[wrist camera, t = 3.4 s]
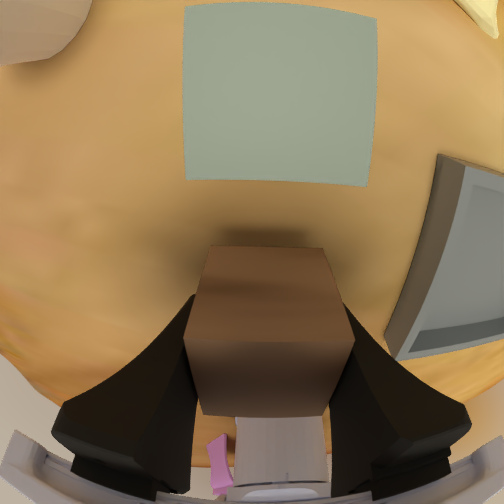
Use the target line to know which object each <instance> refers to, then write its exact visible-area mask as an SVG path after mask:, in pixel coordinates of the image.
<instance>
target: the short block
mask: <svg viewBox="0 0 504 504" xmlns="http://www.w3.org/2000/svg"><path fill="white" fill-rule="evenodd" d="M183 339H184V343H185V347H186V352H187V356H188V360H189V364H190V368H191V372H192V376H193V380H194V384H195V387H196V391H197V395H198V398H199V402H200V405H201V409H202V412H203V415H213V416H227V417H247V418H293V417H313V416H322V415H323V413H324V411H325V409H326V407H327V405H328V403H329V400H330V398H331V396H332V394H333V392H334V390H335V388H336V385H337V383H338V381H339V379H340V376H341V374H342V372H343V369H344V367H345V364H346V362H347V360H348V357H349V355H350V352H351V350H352V347H353V344H354V342H355V338H354V335H353V331H352V328H351V325H350V322H349V319H348V316H347V314H346V311H345V308H344V305H343V302H342V299H341V296H340V294H339V291H338V288H337V285H336V283H335V280H334V277H333V274H332V272H331V269H330V266H329V264H328V261H327V259H326V256H325V253H324V251H323V248H295V247H256V246H214V245H211V247H210V250H209V253H208V257H207V260H206V263H205V266H204V269H203V273H202V276H201V279H200V282H199V286H198V289H197V292H196V295H195V299H194V302H193V306H192V309H191V312H190V316H189V319H188V323H187V326H186V330H185V333H184V337H183Z"/></svg>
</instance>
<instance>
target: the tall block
mask: <svg viewBox="0 0 504 504" xmlns="http://www.w3.org/2000/svg"><path fill="white" fill-rule="evenodd" d="M376 93H377V19H375V18H371V17H367V16H363V15H359V14H355V13H350V12H345V11H340V10H335V9H329V8H322V7H315V6H308V5H299V4H287V3H270V2H232V3H214V4H203V5H194V6H186V7H185V15H184V36H183V133H184V157H185V175H186V180H273V181H296V182H313V183H327V184H340V185H351V186H362V187H367V183H368V176H369V169H370V161H371V153H372V144H373V134H374V123H375V110H376Z"/></svg>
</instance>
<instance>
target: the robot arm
mask: <svg viewBox="0 0 504 504" xmlns="http://www.w3.org/2000/svg"><path fill="white" fill-rule="evenodd" d="M195 295H196V294H193V295H192V296H190V298H189V299H188V300H187V302H186V303H185V304H184V306H183V307H182V308H181V310H180V311H179V312H178V313H177V315H176V316H175V317H174V318H173V319H172V321H171V322H170V323H169V324H168V325H167V326H166V328H165V329H164V330H163V331H162V332H161V333H160V334H159V335H158V336H157V337H156V338H155V339H154V341H153V342H152V343H151V344H150V345H149V346H148V347H147V348H146V349H144V350H143V351H142V352H141V353H140V354H139V355H138V356H137V357H136V358H134V359H133V360H132V361H131V362H130V363H128V364H127V365H126V366H125V367H123V368H122V369H121V370H119V371H118V372H117V373H115V374H114V375H112V376H111V377H109V378H108V379H106V380H105V381H103V382H102V383H100V384H98V385H97V386H95V387H93V388H92V389H90V390H88V391H86V392H84V393H82V394H80V395H78V396H76V397H74V398H72V399H69V400H67V401H65V402H64V403H63V405H62V407H61V409H60V411H59V413H58V415H57V418H56V420H55V423H54V425H53V428H52V431H51V434H52V436H53V437H54V438H55V439H56V440H57V441H58V442H59V443H61V444H62V445H63V446H64V447H66V448H67V449H68V450H70V451H71V452H72V453H74V454H75V458H74V460H73V463H71V462H69V461H67V460H65V459H63V458H61V457H59V456H57V455H55V454H53V453H51V452H49V451H47V450H46V449H45V448H44V447H43V446H42V445H40V444H39V443H37V442H36V441H34V440H32V439H31V438H29V437H27V436H26V435H24V434H22V433H21V432H19V431H17V430H14V433H13V435H12V437H11V440H10V442H9V445H8V447H7V450H6V452H5V455H4V458H3V460H2V463H1V466H0V477H1V478H2V479H3V480H4V481H6V482H7V483H8V484H10V485H11V486H12V487H13V488H15V489H16V490H17V491H19V492H20V493H21V494H23V495H24V496H25V497H27V498H28V499H29V500H31V501H32V502H34V503H35V504H483V503H484V502H486V501H487V500H489V499H490V498H491V497H493V496H494V495H495V494H497V493H498V492H499V491H501V490H502V489H503V488H504V440H503V437H502V436H498V437H497V438H495V439H493V440H492V441H490V442H488V443H486V444H485V445H483V446H481V447H480V448H479V449H477V450H476V451H474V452H473V453H472V454H471V455H469V456H467V457H465V458H463V459H461V460H459V461H457V462H454V463H452V464H449V460H448V456H450V455H451V450H450V446H451V445H453V444H454V443H455V442H457V441H458V440H459V439H460V438H462V437H463V436H464V435H465V434H466V433H467V432H468V431H469V430H470V428H471V425H472V423H471V420H470V418H469V415H468V413H467V410H466V408H465V406H464V404H462V403H460V402H458V401H456V400H453V399H451V398H449V397H447V396H445V395H444V394H442V393H440V392H438V391H437V390H435V389H433V388H432V387H430V386H429V385H427V384H425V383H424V382H422V381H421V380H420V379H418V378H417V377H416V376H414V375H413V374H412V373H410V372H409V371H408V370H406V369H405V368H404V367H403V366H401V365H400V364H399V363H398V362H397V361H396V360H395V359H393V358H392V357H391V356H390V355H389V354H388V353H387V352H386V351H385V350H384V349H383V348H382V347H381V346H380V345H379V344H378V343H377V342H376V341H375V340H374V339H373V338H372V337H371V335H370V334H369V333H368V332H367V331H366V330H365V329H364V327H363V326H362V325H361V324H360V323H359V322H358V320H357V319H356V318H355V317H354V315H353V314H352V313H351V312H350V310H349V309H348V308H347V307H346V306H345V304H344V303H343V305H344V308H345V311H346V314H347V316H348V319H349V322H350V325H351V328H352V331H353V335H354V338H355V342H354V344H353V347H352V350H351V352H350V355H349V357H348V360H347V362H346V364H345V367H344V369H343V372H342V374H341V376H340V379H339V381H338V383H337V385H336V388H335V390H334V392H333V394H332V396H331V398H330V400H329V409H330V421H331V439H332V479H331V482H329V474H328V466H327V465H328V464H327V455H326V446H325V437H324V429H323V421H322V416H313V417H293V418H247V417H235V422H236V426H237V434H236V449H235V463H234V478H233V487H227V495H226V494H221V495H220V496H219V497H218V498H217V499H215V500H206V499H198V498H191V497H185V496H179V495H174V494H184V493H186V492H187V491H189V490H190V475H191V474H190V473H191V457H192V443H193V433H194V424H195V415H196V407H197V402H198V395H197V391H196V387H195V384H194V380H193V376H192V372H191V368H190V364H189V360H188V356H187V352H186V347H185V343H184V339H183V337H184V333H185V330H186V326H187V323H188V319H189V316H190V312H191V309H192V306H193V302H194V299H195ZM170 493H174V494H170Z"/></svg>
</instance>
